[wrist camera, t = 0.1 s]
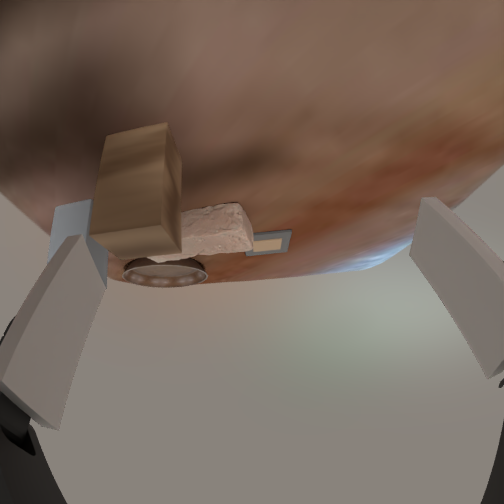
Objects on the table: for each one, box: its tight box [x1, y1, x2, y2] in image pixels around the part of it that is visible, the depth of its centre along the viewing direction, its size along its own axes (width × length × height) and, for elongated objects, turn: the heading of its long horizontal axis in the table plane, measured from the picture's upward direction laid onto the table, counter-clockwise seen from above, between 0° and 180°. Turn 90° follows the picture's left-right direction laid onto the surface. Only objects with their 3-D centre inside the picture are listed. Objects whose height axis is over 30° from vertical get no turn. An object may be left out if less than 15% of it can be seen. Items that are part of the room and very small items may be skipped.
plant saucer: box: [122, 257, 208, 288], centre depth 60 cm, size 18×18×3 cm
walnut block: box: [89, 122, 182, 260], centre depth 25 cm, size 6×6×10 cm
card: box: [245, 230, 292, 256], centre depth 54 cm, size 10×8×1 cm
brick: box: [147, 203, 254, 263], centre depth 43 cm, size 16×8×5 cm, turn 102°
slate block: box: [47, 199, 108, 289], centre depth 34 cm, size 6×6×10 cm
